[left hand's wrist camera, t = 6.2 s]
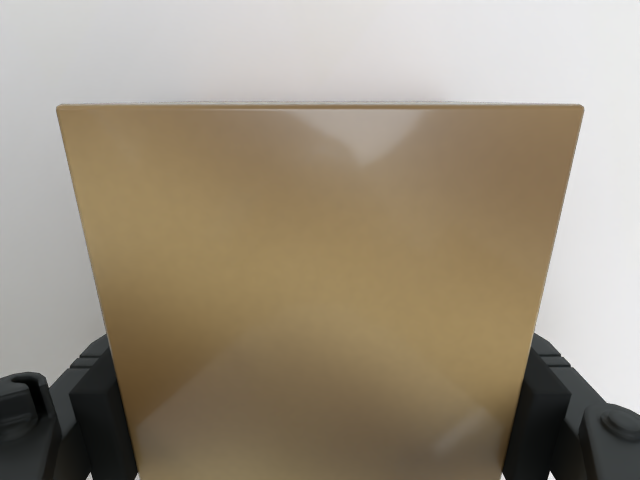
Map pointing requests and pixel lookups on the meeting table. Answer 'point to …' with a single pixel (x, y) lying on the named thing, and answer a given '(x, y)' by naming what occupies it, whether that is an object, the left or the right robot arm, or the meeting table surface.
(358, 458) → the wide beam
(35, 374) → the left robot arm
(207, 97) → the meeting table surface
